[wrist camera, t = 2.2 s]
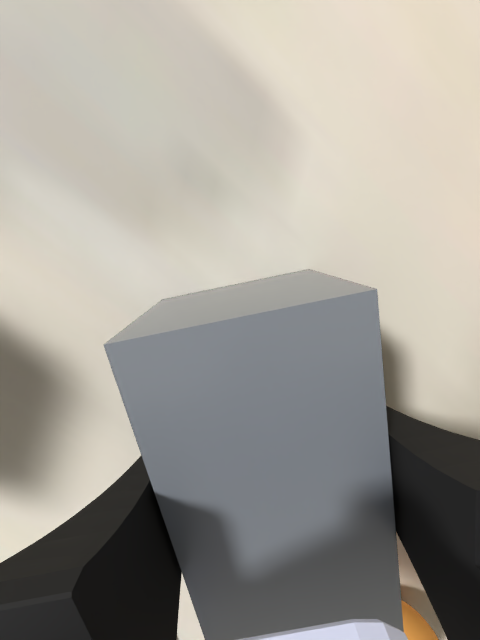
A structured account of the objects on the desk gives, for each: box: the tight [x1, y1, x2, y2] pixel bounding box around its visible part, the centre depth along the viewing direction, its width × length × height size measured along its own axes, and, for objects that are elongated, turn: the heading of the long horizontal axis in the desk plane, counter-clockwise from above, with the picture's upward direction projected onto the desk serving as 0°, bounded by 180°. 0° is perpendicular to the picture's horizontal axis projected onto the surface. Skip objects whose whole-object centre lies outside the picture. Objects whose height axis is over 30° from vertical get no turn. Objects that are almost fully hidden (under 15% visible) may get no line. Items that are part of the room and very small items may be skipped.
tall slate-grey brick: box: [104, 269, 404, 640], centre depth 10 cm, size 6×12×6 cm, turn 12°
